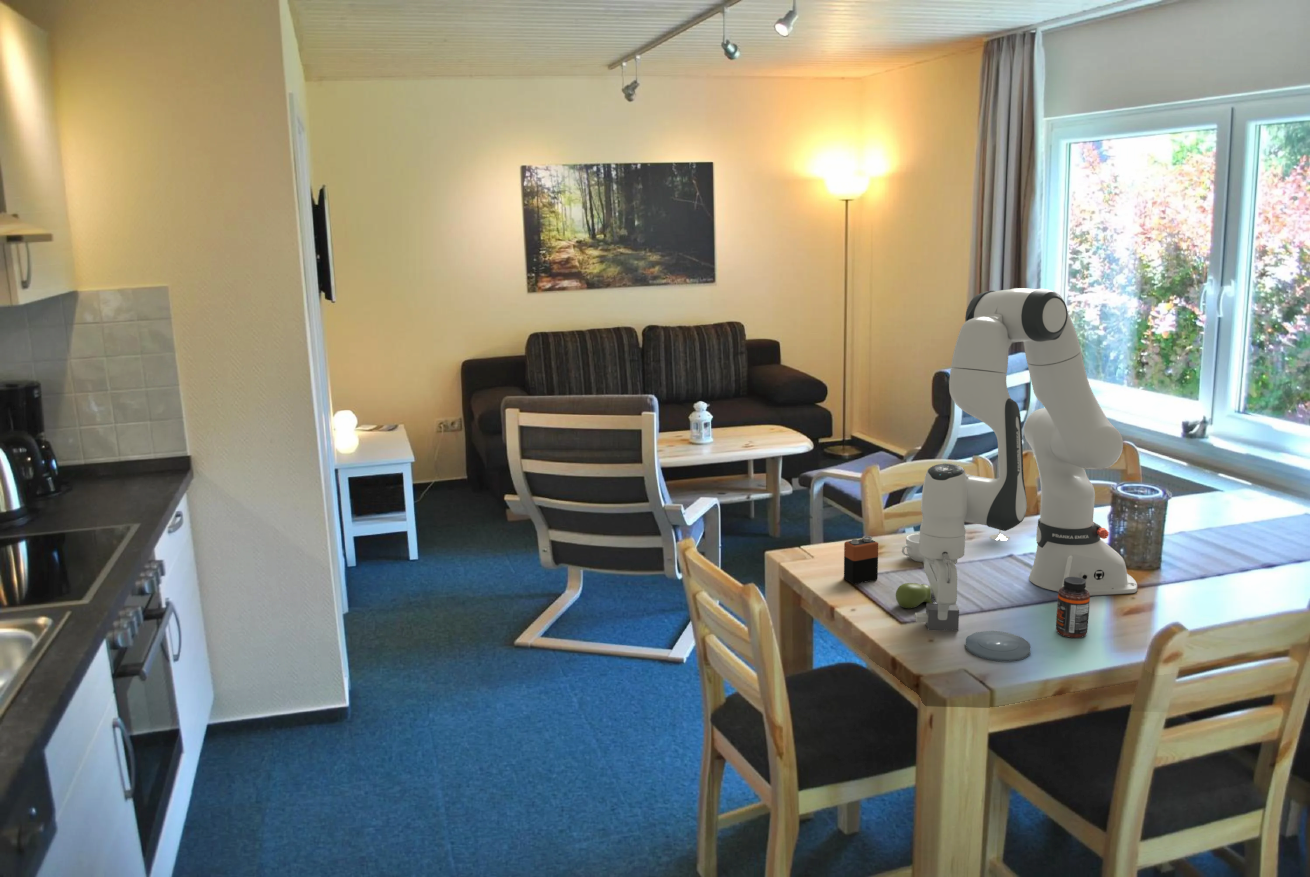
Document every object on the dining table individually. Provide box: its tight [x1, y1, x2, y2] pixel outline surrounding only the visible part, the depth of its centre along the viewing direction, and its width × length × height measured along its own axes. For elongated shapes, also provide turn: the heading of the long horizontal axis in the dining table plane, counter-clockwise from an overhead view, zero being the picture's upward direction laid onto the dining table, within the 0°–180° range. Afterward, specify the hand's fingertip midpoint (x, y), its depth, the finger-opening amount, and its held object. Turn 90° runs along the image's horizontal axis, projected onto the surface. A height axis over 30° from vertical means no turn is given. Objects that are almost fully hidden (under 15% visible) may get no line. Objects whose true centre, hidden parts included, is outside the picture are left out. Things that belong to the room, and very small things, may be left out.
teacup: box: [901, 532, 924, 563], centre depth 252 cm, size 10×8×5 cm
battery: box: [843, 535, 879, 585], centre depth 239 cm, size 4×7×10 cm, turn 113°
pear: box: [895, 582, 934, 609], centre depth 224 cm, size 6×5×10 cm
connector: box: [914, 602, 960, 632], centre depth 212 cm, size 8×4×4 cm, turn 84°
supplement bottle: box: [1055, 577, 1091, 639], centre depth 207 cm, size 6×6×11 cm
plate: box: [965, 630, 1032, 662], centre depth 202 cm, size 12×12×1 cm
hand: (938, 609), depth 212 cm, fingers open, 8 cm apart
